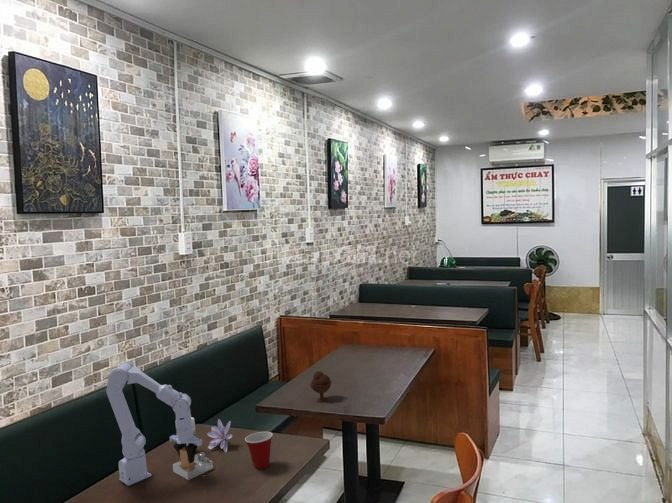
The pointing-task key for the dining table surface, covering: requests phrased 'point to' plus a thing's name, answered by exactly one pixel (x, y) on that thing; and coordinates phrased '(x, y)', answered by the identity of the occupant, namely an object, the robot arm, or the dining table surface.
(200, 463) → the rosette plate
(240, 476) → the dining table surface
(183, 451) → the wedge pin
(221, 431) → the water lily
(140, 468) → the robot arm
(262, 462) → the plastic cup
